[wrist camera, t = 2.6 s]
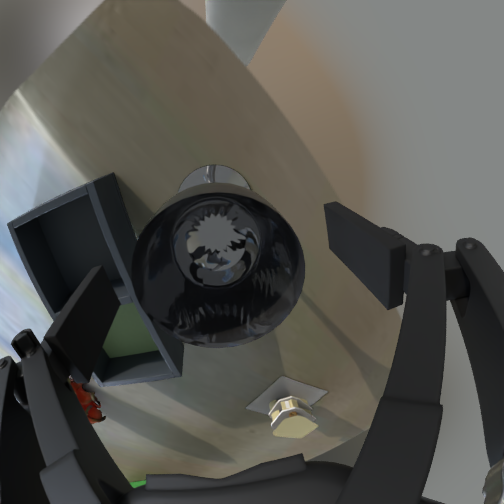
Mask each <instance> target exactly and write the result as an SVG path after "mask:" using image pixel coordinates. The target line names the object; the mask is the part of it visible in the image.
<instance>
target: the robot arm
mask: <svg viewBox="0 0 504 504" xmlns="http://www.w3.org/2000/svg"><path fill="white" fill-rule="evenodd" d="M324 210H325V217H326V224H327V232H328V240H329V248H330V250H331V251H332V252H333V253H334V254H335V255H336V256H337V257H338V258H339V259H340V260H341V261H342V262H343V263H344V264H345V265H346V266H347V267H348V268H349V269H350V270H351V271H352V272H353V273H354V274H355V275H356V276H357V277H358V278H359V279H360V281H361V282H362V283H363V284H364V285H365V286H366V287H367V288H368V289H369V290H370V291H371V292H372V293H373V294H374V296H375V297H376V298H377V299H378V300H379V301H380V302H381V303H382V304H383V305H384V306H385V308H386V309H387V310H390V309H392V308H395V307H397V306H399V305H402V304H403V294H404V292H405V293H406V294H407V296H406V302H405V308H404V314H403V319H402V324H401V329H400V334H399V338H398V343H397V347H396V351H395V355H394V359H393V363H392V367H391V370H390V374H389V378H388V381H387V384H386V388H385V391H384V394H383V397H381V399H380V402H379V405H378V407H377V410H376V413H375V416H374V419H373V421H372V424H371V427H370V429H369V432H368V435H367V437H366V439H365V442H364V444H363V447H362V449H361V452H360V454H359V457H358V458H357V461H356V463H355V465H354V467H350V466H347V465H343V464H339V463H334V462H326V461H309V462H305V460H304V457H303V454H302V453H301V454H297V455H294V456H290V457H286V458H282V459H278V460H274V461H269V462H264V463H261V464H258V465H256V466H254V467H251V468H249V469H246V470H244V471H241V472H239V473H236V474H234V475H231V476H228V477H226V478H222V479H213V478H205V477H198V476H191V475H185V474H146V484H144V485H141V486H139V487H136V488H133V487H132V485H131V484H130V483H129V482H128V480H127V479H126V478H125V476H124V475H123V473H122V472H121V471H120V469H119V468H118V466H117V465H116V463H115V462H114V461H113V459H112V457H111V456H110V454H109V453H108V451H107V450H106V448H105V447H104V445H103V443H102V442H101V440H100V438H99V437H98V435H97V433H96V432H95V430H94V428H93V426H92V425H91V423H90V421H89V419H88V417H87V415H86V414H85V412H84V410H83V408H82V406H81V404H80V402H79V400H78V398H77V396H76V394H75V391H74V389H73V387H72V385H71V384H70V383H69V382H68V377H69V375H71V377H72V378H73V379H74V380H75V382H76V383H89V381H90V379H91V376H92V373H93V370H94V368H95V365H96V362H97V360H98V357H99V355H100V352H101V349H102V347H103V344H104V342H105V340H106V337H107V335H108V332H109V330H110V328H111V325H112V323H113V321H114V318H115V316H116V314H117V311H118V309H119V307H120V305H121V303H120V301H119V299H118V297H117V295H116V293H115V291H114V289H113V287H112V284H111V282H110V280H109V278H108V276H107V274H106V271H105V269H104V267H103V265H100V266H97V267H94V268H92V269H91V270H90V272H89V273H88V274H87V276H86V277H85V278H84V280H83V281H82V282H81V284H80V285H79V286H78V288H77V289H76V290H75V292H74V293H73V295H72V296H71V297H70V299H69V300H68V302H67V303H66V304H65V306H64V307H63V309H62V310H61V312H60V313H59V315H58V316H57V318H56V319H55V321H54V322H53V324H52V325H51V327H50V328H49V330H48V331H47V333H46V334H45V336H44V339H43V341H42V342H41V344H40V343H39V341H38V340H37V338H36V337H35V335H34V333H33V332H32V330H31V329H25V330H23V331H21V332H20V333H19V334H17V335H16V336H15V337H14V339H13V340H12V342H11V345H12V347H13V348H14V350H15V351H16V352H17V354H18V355H19V357H20V358H21V362H18V363H15V362H14V360H13V359H12V358H11V356H6V357H4V358H2V359H0V504H444V503H441V502H438V501H435V500H432V499H428V498H426V497H423V496H422V493H423V490H424V487H425V484H426V481H427V477H428V474H429V471H430V468H431V464H432V460H433V456H434V452H435V448H436V444H437V439H438V435H439V430H440V425H441V420H442V412H443V407H442V406H443V405H440V395H441V388H442V380H443V371H444V360H445V346H446V301H448V300H450V302H451V304H452V307H453V310H454V312H455V315H456V318H457V321H458V324H459V327H460V330H461V333H462V336H463V339H464V343H465V346H466V349H467V353H468V356H469V360H470V363H471V367H472V371H473V375H474V380H475V384H476V388H477V393H478V398H479V403H480V409H481V415H482V421H483V428H484V436H485V443H486V450H487V455H488V459H489V463H490V467H491V469H490V470H489V472H488V475H487V476H486V479H485V485H484V487H483V492H482V493H483V495H484V497H485V501H484V504H504V272H503V270H502V269H501V267H500V266H499V265H498V263H497V262H496V261H495V259H494V258H493V257H492V255H491V254H490V253H489V251H488V250H487V249H486V248H485V246H484V245H483V244H482V243H481V242H479V241H478V240H476V239H474V238H463V239H460V240H458V241H457V243H456V251H451V252H443V250H442V249H441V248H440V247H439V246H436V245H434V244H420V245H417V244H415V243H414V242H412V241H410V240H409V239H407V238H405V237H404V236H402V235H401V234H399V233H398V232H396V231H394V230H392V229H389V228H386V227H381V228H380V227H378V226H377V225H375V224H373V223H371V222H370V221H368V220H367V219H365V218H363V217H362V216H360V215H358V214H357V213H355V212H353V211H352V210H350V209H348V208H347V207H345V206H343V205H341V204H340V203H338V202H331V203H327V204H324ZM16 399H17V400H18V401H19V402H20V403H19V402H18V401H17V400H16Z"/></svg>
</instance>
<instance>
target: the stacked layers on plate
mask: <svg viewBox="0 0 504 504" xmlns="http://www.w3.org/2000/svg"><path fill="white" fill-rule="evenodd" d="M327 392H328V391H325V390H322V389H319V388H316V387H313V386H310V385H307V384H304V383H301V382H298V381H295V380H292V379H289V378H287V377H284V376H281V377H280V378H279V379H278V380H277V381H276V382H274V383H273V384H272V385H271V386H270V387H269V388H268V389H267V390H265V391H264V392H263V393H262V394H261V395H260V396H259V397H257V398H256V399H255V400H254V401H253V402H252V403H250V404H249V405H248V406H247V407H246V408H245V409H249V410H252V411H256V412H260V413H263V414H267V415H269V418H270V419H272V420H273V422H272V424H271V427H272V429H274V432H273V435H274V436H277V437H289V438H303V437H304V436H306V435H307V434H308V433H310V432H311V431H313V430H314V429H316V428H317V427H318V425H317V424H315V423H313V422H314V421H316V418H315V417H314V416H312V414H311V411H312V410H313V408H311V407H310V406H311V405H312V404H314V403H315V402H316V401H317V400H319V399H320V398H321V397H322V396H323V395H325V394H326V393H327Z"/></svg>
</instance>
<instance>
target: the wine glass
mask: <svg viewBox="0 0 504 504" xmlns="http://www.w3.org/2000/svg"><path fill="white" fill-rule="evenodd" d="M131 278H132V285H133V289H134V292H135V296H136V298H137V300H138V302H139V304H140V306H141V308H142V309H143V311H144V312H145V313H146V315H147V316H148V317H149V319H150V320H151V321H152V322H153V323H154V324H155V325H157V326H158V327H159V328H160V329H161V330H163V331H164V332H166V333H167V334H169V335H170V336H172V337H174V338H176V339H178V340H180V341H183V342H186V343H189V344H192V345H196V346H202V347H211V348H223V347H233V346H237V345H241V344H245V343H248V342H251V341H253V340H256V339H258V338H260V337H262V336H264V335H265V334H267V333H269V332H271V331H272V330H273V329H274V328H276V327H277V326H278V325H279V324H281V323H282V321H283V320H284V319H285V318H286V317H287V316H288V315H289V314H290V312H291V311H292V309H293V308H294V306H295V305H296V303H297V301H298V298H299V296H300V294H301V291H302V288H303V283H304V279H305V261H304V255H303V250H302V248H301V245H300V242H299V240H298V237H297V236H296V234H295V232H294V231H293V229H292V228H291V226H290V224H289V223H288V222H287V220H286V219H285V218H284V217H283V216H282V214H281V213H280V212H279V211H278V210H277V209H276V208H275V207H274V206H273V205H272V204H271V203H269V202H268V201H267V200H266V199H264V198H263V197H262V196H260V195H259V194H257V193H256V192H254V191H251V190H250V187H249V185H248V183H247V182H246V180H245V179H244V178H243V177H242V176H241V174H239V173H238V172H237V171H235V170H234V169H231V168H229V167H226V166H223V165H207V166H204V167H200V168H198V169H196V170H194V171H193V172H192V173H190V174H189V175H188V176H187V177H186V178H185V179H184V181H183V182H182V184H181V186H180V188H179V190H178V193H177V194H175V195H174V196H173V197H172V198H170V199H169V200H168V201H166V202H165V203H164V204H163V205H162V206H161V207H160V208H159V210H158V211H157V212H156V213H155V214H154V215H153V216H152V217H151V219H150V220H149V221H148V223H147V225H146V226H145V228H144V230H143V231H142V233H141V235H140V236H139V238H138V240H137V243H136V246H135V249H134V252H133V255H132V263H131Z"/></svg>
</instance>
